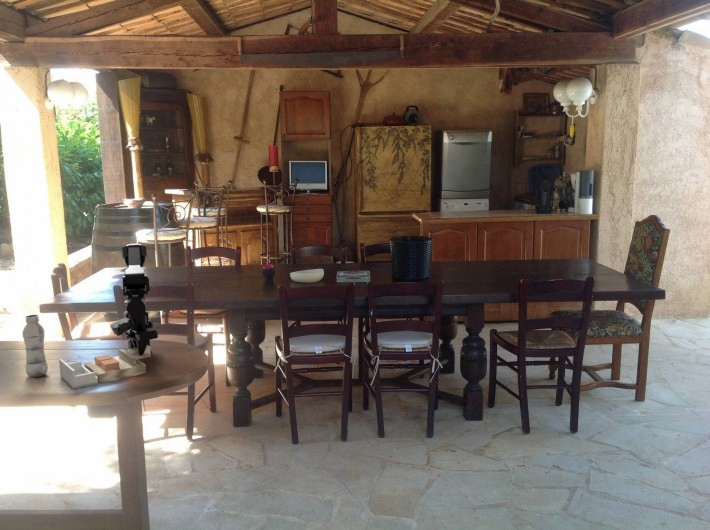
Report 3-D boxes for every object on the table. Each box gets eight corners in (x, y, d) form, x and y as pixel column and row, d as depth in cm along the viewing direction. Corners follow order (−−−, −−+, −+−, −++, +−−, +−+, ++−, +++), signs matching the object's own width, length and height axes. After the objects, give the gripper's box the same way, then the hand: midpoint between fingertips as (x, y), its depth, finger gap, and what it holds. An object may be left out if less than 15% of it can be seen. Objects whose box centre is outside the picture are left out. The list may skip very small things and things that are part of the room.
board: (129, 362, 221) (129, 353, 221) (145, 373, 211) (145, 364, 210) (84, 371, 212) (84, 363, 211) (99, 383, 201) (98, 374, 201)
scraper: (142, 351, 223) (141, 341, 222) (156, 360, 214) (155, 350, 213) (118, 356, 217) (118, 346, 217) (132, 365, 208) (131, 355, 208)
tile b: (114, 364, 210) (114, 358, 210) (119, 367, 207) (119, 361, 206) (100, 367, 207) (100, 361, 207) (105, 370, 204) (105, 364, 204)
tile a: (108, 360, 214) (108, 354, 214) (113, 363, 211) (113, 357, 210) (94, 363, 211) (94, 357, 211) (99, 366, 208) (99, 360, 208)
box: (83, 372, 211) (82, 354, 210) (98, 384, 201) (96, 365, 200) (60, 377, 207) (59, 359, 206) (74, 389, 196) (72, 370, 195)
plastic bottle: (25, 380, 204) (19, 319, 200) (27, 373, 210) (21, 314, 206) (48, 377, 206) (42, 317, 202) (48, 371, 212) (43, 312, 209)
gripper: (102, 307, 215) (105, 352, 218) (123, 319, 201) (126, 366, 204) (135, 302, 222) (137, 346, 225) (157, 313, 208) (159, 359, 211)
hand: (139, 354), depth 216 cm, fingers closed on scraper, 2 cm apart
